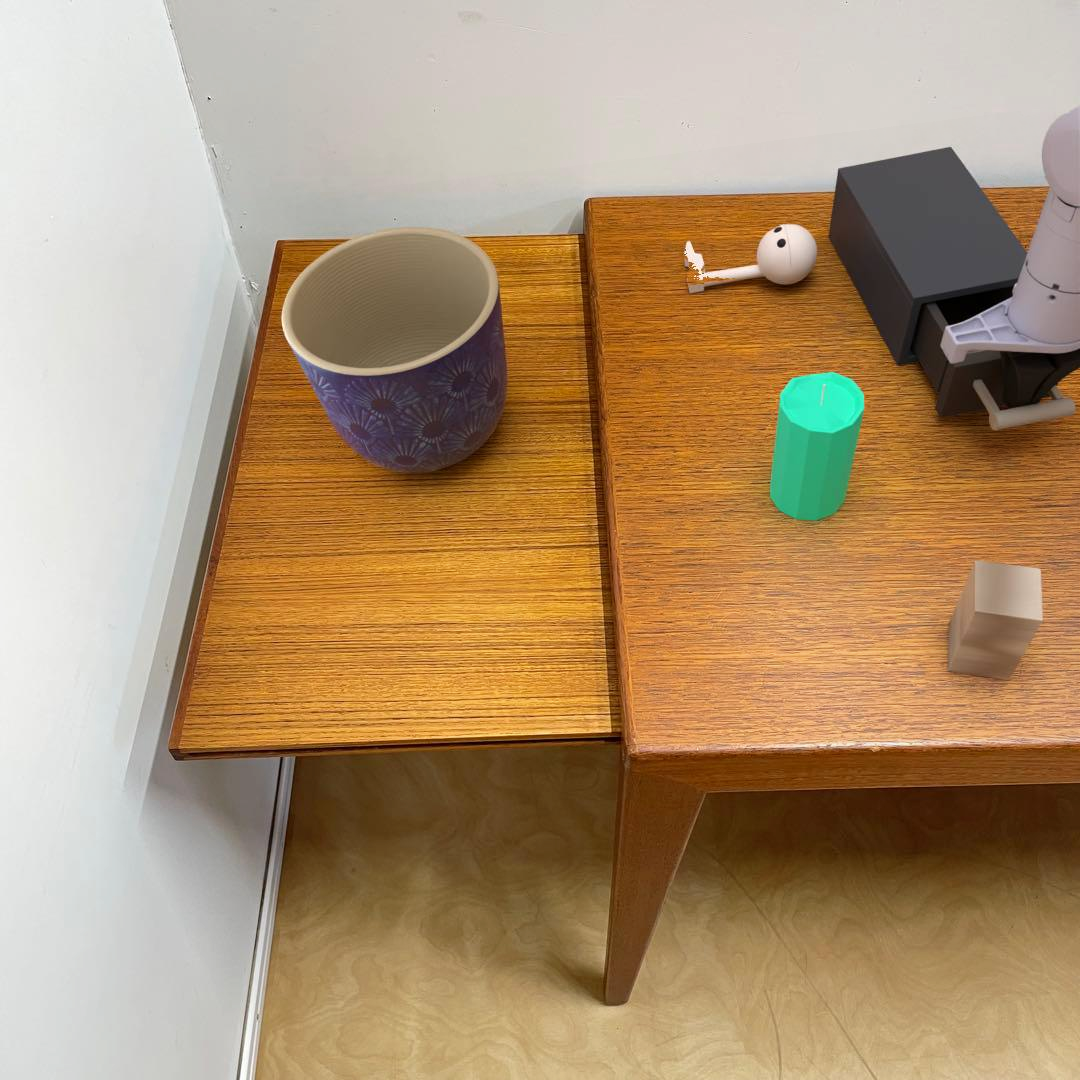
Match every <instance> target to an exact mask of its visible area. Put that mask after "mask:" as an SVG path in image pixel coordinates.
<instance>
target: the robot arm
mask: <svg viewBox="0 0 1080 1080" xmlns="http://www.w3.org/2000/svg"><path fill="white" fill-rule="evenodd" d="M1041 163H1042V170H1043V173H1044V175H1045V176H1044V177H1045V179H1046V181H1047V184H1048V185H1049V189H1048V191H1047V194H1046V198H1045V200H1044V203H1043V206H1042V209H1041V213H1040V215H1039V218H1038V221H1037V223H1036V227H1035V229H1034V232H1033V236H1032V237H1031V238H1032V239H1031V241H1030V244H1029V247H1028V250H1027V256H1026V259H1025V262H1024V265H1023V268H1022V270H1021V273H1020V276H1019V279H1018V282H1017V283H1016V284H1015V285H1014V288H1013V291H1012V292H1013V297H1011V298H1009V299H1007V300H1005V301H1003V302H1001V303H999V304H997V305H995V306H993V307H992V308H990V309H988V310H986V311H984V312H982V313H980V314H978V315H976V316H974V317H972V318H970V319H968V320H966V321H964V322H961V323H958V324H954V325H950V326H946V327H945V331H944V334H943V338H942V341H941V345H940V346H941V348H942V350H943V352H944V354H945V355H946V357H947V358H948V360H949V362H950V363H951V364H952V363H958V362H962V361H964V359H965V356H966V354H969V353H975V352H980V351H985V350H995V351H999V352H1000V356H1001V360H1002V366H1003V398H1002V399H1003V401H1004V403H1005V404H1006V406H1005V407H1006V408H1007V409H1011V408H1016V407H1021V406H1027V405H1032V404H1037V403H1041V401H1042V400H1043V399H1044V398H1043V397H1044V396H1045V395H1046V394H1047V393H1048V392H1049V391H1050V390H1051V389H1052V388H1053V387H1054V386H1055V385H1056V384H1057V383H1058V384H1059V383H1060V382H1061V381H1062V380H1064V379H1065V378H1066V377H1068V376H1069V375H1071V374H1072V373H1074V372H1075V371H1077V370H1078V369H1080V105H1078V106H1075V107H1074V108H1072V109H1071V110H1070V111H1068V112H1065V113H1063V114H1061V115H1060V116H1058V117H1057V118H1056V119H1055V120H1054V121H1053V122H1052V123H1051V124H1050V126H1049V127H1048V129H1047V131H1046V133H1045V135H1044V139H1043V142H1042V148H1041ZM1058 384H1057V385H1058ZM1042 398H1043V399H1042Z"/></svg>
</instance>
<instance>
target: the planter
mask: <svg viewBox="0 0 1080 1080" xmlns="http://www.w3.org/2000/svg"><path fill="white" fill-rule="evenodd" d="M497 271H498V270H497V269H496V266H495V264H494V263H493V261H492V259H491V258H490V256H489V255H488V253H486V252H485V250H484V249H482V248H481V247H480V246H479V245H477V244H476V243H475V242H474V241H472V240H470V239H469V238H466V237H465V236H462V235H461V234H459V233H455V232H452V231H450V230H444V229H440V228H434V227H427V226H426V227H425V226H404V227H393V228H385V229H380V230H377V231H373V232H368V233H365V234H363V235H362V234H361V235H359V236H357V237H354V238H351V239H349V240H346V241H344V242H342V243H340V244H338V245H336V246H334V247H333V248H331V249H329V250H327V251H326V252H325V253H323V254H321V255H320V256H319V257H317V258H316V259H315V260H313V261H312V262H311V263H310V264H309V265H308V266H306V267H305V268H304V269H303V271H302V272H301V273H300V274H299V275H298V277H296V279H295V280H294V281H293V283H292V285H291V287H289V290H288V292H287V294H286V296H285V298H284V302H283V305H282V311H281V325H282V331H283V334H284V337H285V339H286V341H287V343H288V345H289V346H290V349H291V350H292V352H293V354H294V356H295V358H296V360H297V362H298V363H299V365H300V368H301V369H302V371H303V373H304V375H305V376H306V378H307V381H308V382H309V384H310V386H311V388H312V390H313V391H314V393H315V395H316V397H317V399H318V401H319V402H320V405H321V406H322V408H323V410H324V412H325V414H326V416H327V418H328V419H329V421H330V423H331V425H332V426H333V428H334V430H335V431H336V433H337V434H338V436H339V437H340V438H341V440H343V441H344V442H345V444H346V445H348V446H349V448H351V450H353V451H354V452H355V453H356V454H357V455H358V456H360V457H361V458H362V459H364V460H366V461H368V463H371V464H373V465H374V466H377V467H378V468H382V469H385V470H389V471H393V472H397V473H398V472H399V473H405V474H407V473H408V474H422V473H429V472H430V473H431V472H434V471H435V472H436V471H439V470H443V469H445V468H449V467H451V466H454V465H456V464H458V463H460V462H462V461H463V460H466V458H468V457H470V456H471V455H472V454H474V453H475V452H476V451H478V450H479V449H480V448H481V447H482V446H483V445H484V444H485V443H487V441H488V440H489V438H490V437H491V436H492V434H493V433H494V431H495V430H496V428H497V426H498V424H499V422H500V420H501V417H502V416H503V412H504V409H505V405H506V402H507V401H506V400H507V397H508V385H509V377H508V376H509V375H508V362H507V352H506V341H505V332H504V321H503V311H502V300H501V291H500V289H501V288H500V280H499V275H498V272H497Z"/></svg>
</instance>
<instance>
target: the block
mask: <svg viewBox="0 0 1080 1080" xmlns="http://www.w3.org/2000/svg"><path fill="white" fill-rule="evenodd" d="M1042 584H1043V583H1042V569H1041V568H1038V567H1033V566H1032V567H1031V566H1024V565H1016V564H1014V565H1013V564H1008V563H999V562H993V561H987V560H986V561H985V560H977V559H976V560H974V563H973V565H972V567H971V568H970V571H969V574H968V576H967V578H966V581H965V583H964V585H963V588H962V591H961V593H960V595H959V598H958V600H957V601H956V602H957V603H956V605H955V607H954V610H953V612H952V614H951V616H950V619H949V621H948V634H947V635H948V637H947V639H948V642H947V672H950V673H959V674H963V675H964V674H965V675H970V676H978V677H984V678H989V679H990V678H991V679H996V680H1002V681H1003V680H1004V681H1010V679H1011V678H1012V676H1013V674H1014V673H1015V671H1016V669H1017V667H1018V665H1019V663H1020V662H1021V660H1022V658H1023V657H1024V655H1025V653H1026V650H1028V647H1029V646H1030V644H1031V643H1032V641H1033V640H1034V637H1035V635H1036V634H1037V632H1038V630H1039V628H1040V626H1041V625H1042V623H1043V621H1044V613H1043V611H1044V610H1043V588H1042V587H1043V586H1042Z"/></svg>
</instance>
